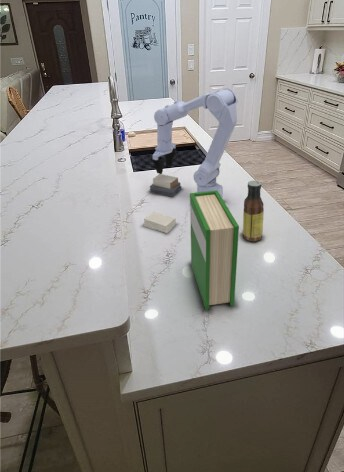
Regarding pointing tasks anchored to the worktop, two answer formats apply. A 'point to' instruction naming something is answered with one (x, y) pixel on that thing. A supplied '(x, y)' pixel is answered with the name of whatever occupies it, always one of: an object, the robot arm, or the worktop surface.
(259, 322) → the worktop surface
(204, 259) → the hardback book
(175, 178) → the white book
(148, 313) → the worktop surface
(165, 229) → the cream rectangular block
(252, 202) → the sauce bottle
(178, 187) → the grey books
